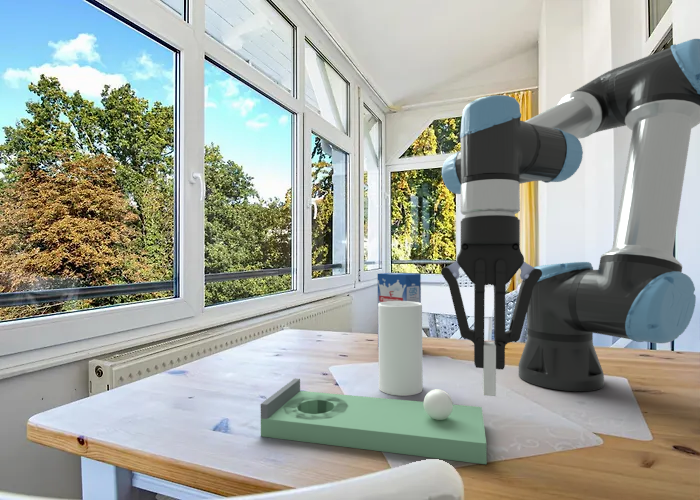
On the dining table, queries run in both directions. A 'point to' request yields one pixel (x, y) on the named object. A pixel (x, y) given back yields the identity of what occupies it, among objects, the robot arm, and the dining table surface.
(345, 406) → the green
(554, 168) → the robot arm
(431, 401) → the ball
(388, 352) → the cup
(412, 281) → the milk carton
